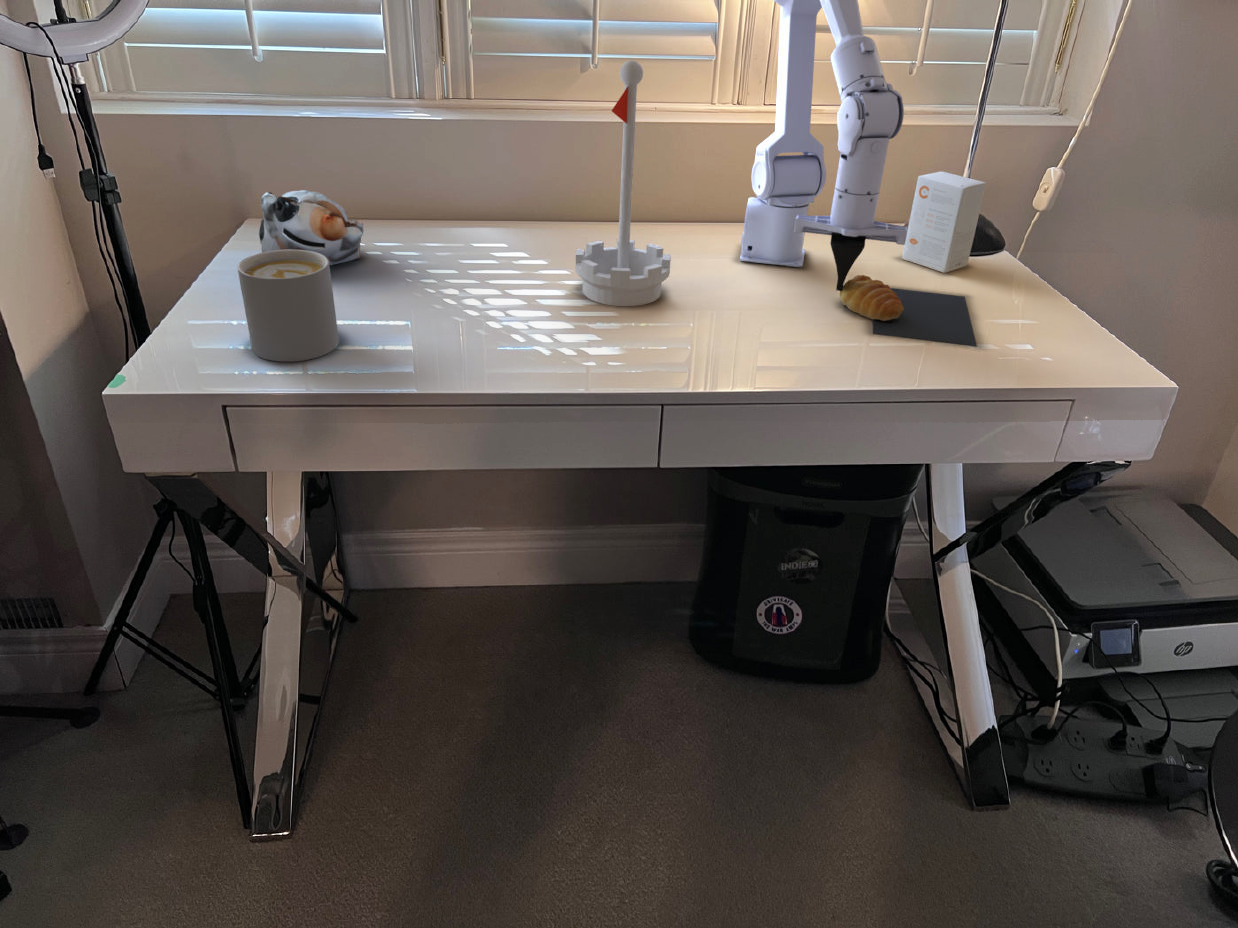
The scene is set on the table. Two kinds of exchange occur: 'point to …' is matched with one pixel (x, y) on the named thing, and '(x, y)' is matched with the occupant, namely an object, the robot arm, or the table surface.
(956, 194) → the small box
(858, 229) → the robot arm
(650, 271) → the flag stand
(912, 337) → the placemat
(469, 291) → the table surface
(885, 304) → the pastry
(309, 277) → the coffee mug
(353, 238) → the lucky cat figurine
